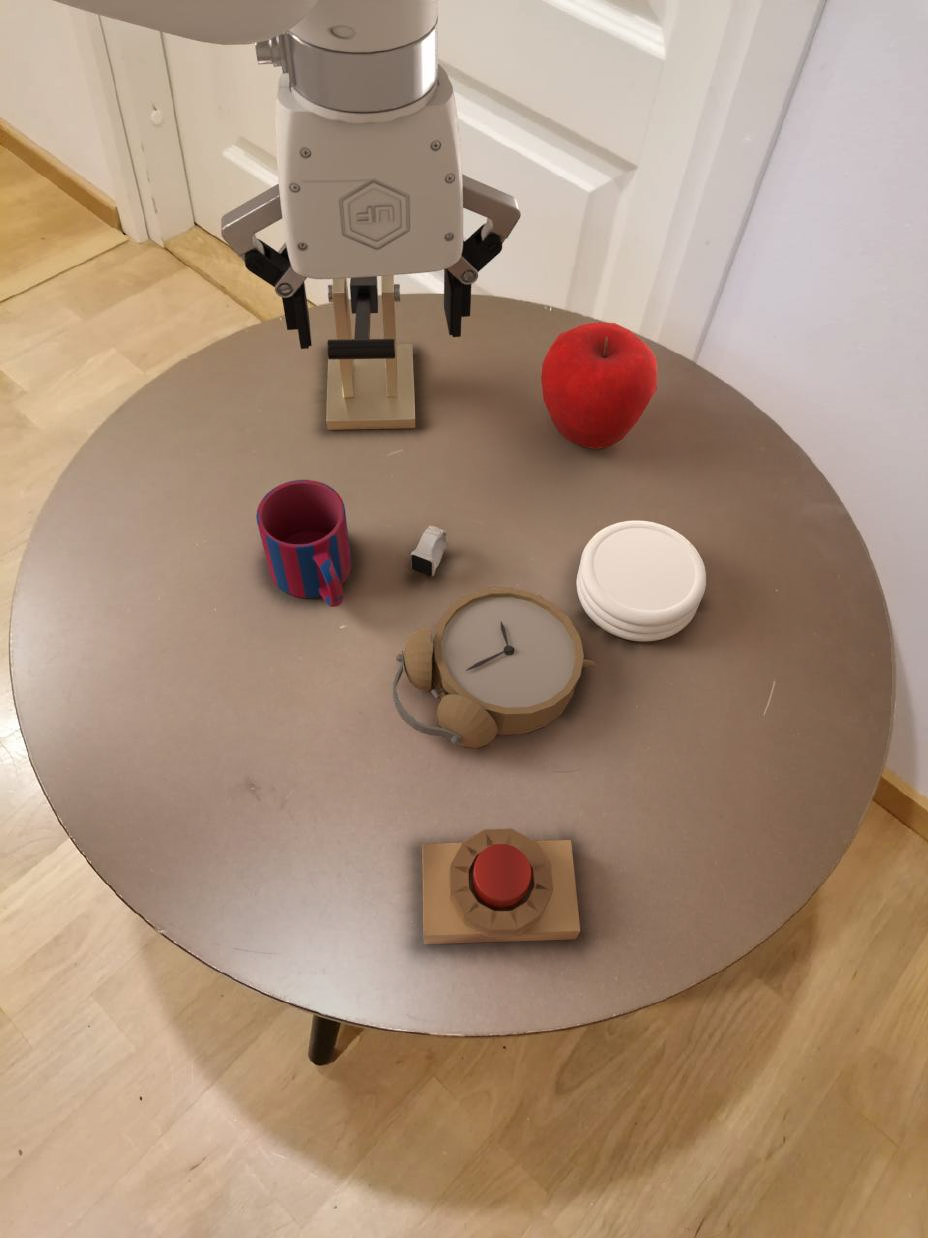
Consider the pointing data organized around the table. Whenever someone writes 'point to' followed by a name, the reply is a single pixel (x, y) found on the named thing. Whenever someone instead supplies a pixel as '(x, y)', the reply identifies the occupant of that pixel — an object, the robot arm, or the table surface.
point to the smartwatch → (429, 551)
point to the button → (501, 875)
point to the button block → (471, 920)
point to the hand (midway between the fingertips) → (379, 328)
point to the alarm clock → (494, 666)
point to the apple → (597, 383)
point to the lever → (362, 326)
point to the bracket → (370, 372)
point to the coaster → (640, 580)
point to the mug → (306, 539)
